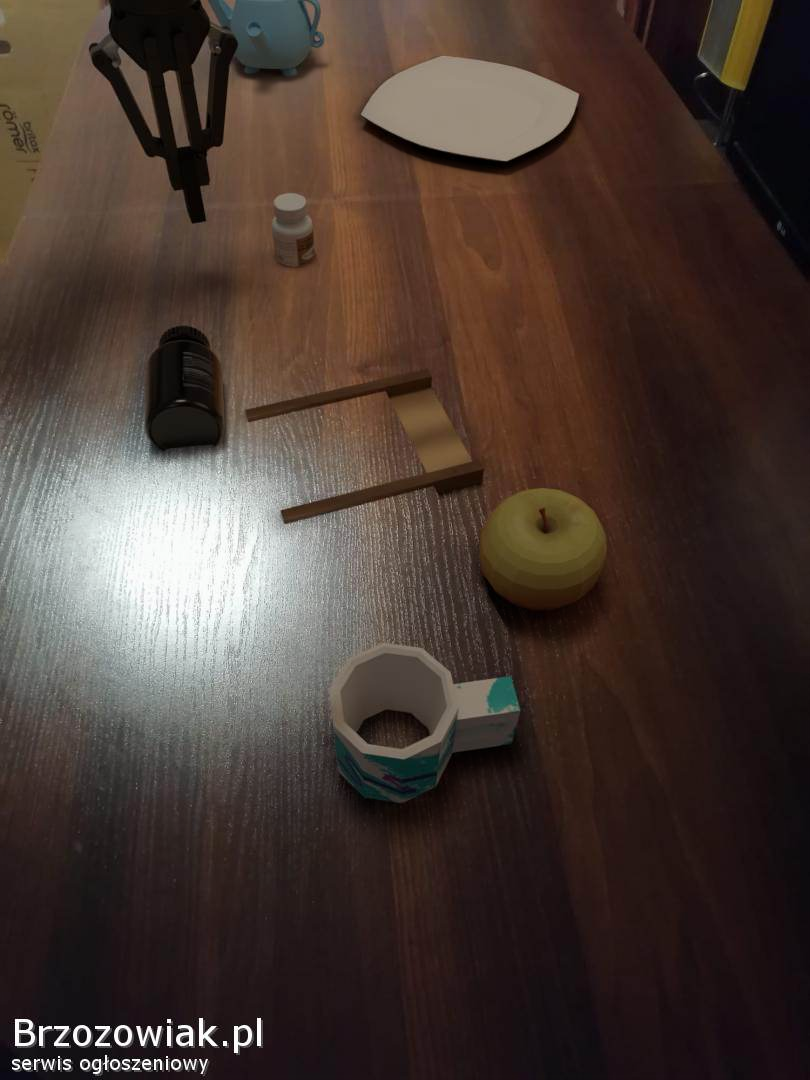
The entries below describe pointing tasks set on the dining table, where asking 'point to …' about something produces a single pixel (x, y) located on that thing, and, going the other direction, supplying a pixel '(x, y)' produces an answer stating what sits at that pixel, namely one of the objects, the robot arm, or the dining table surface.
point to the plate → (472, 108)
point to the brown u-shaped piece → (422, 426)
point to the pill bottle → (292, 231)
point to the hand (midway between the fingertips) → (196, 215)
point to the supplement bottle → (184, 392)
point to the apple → (542, 549)
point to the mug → (431, 696)
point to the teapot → (270, 32)
